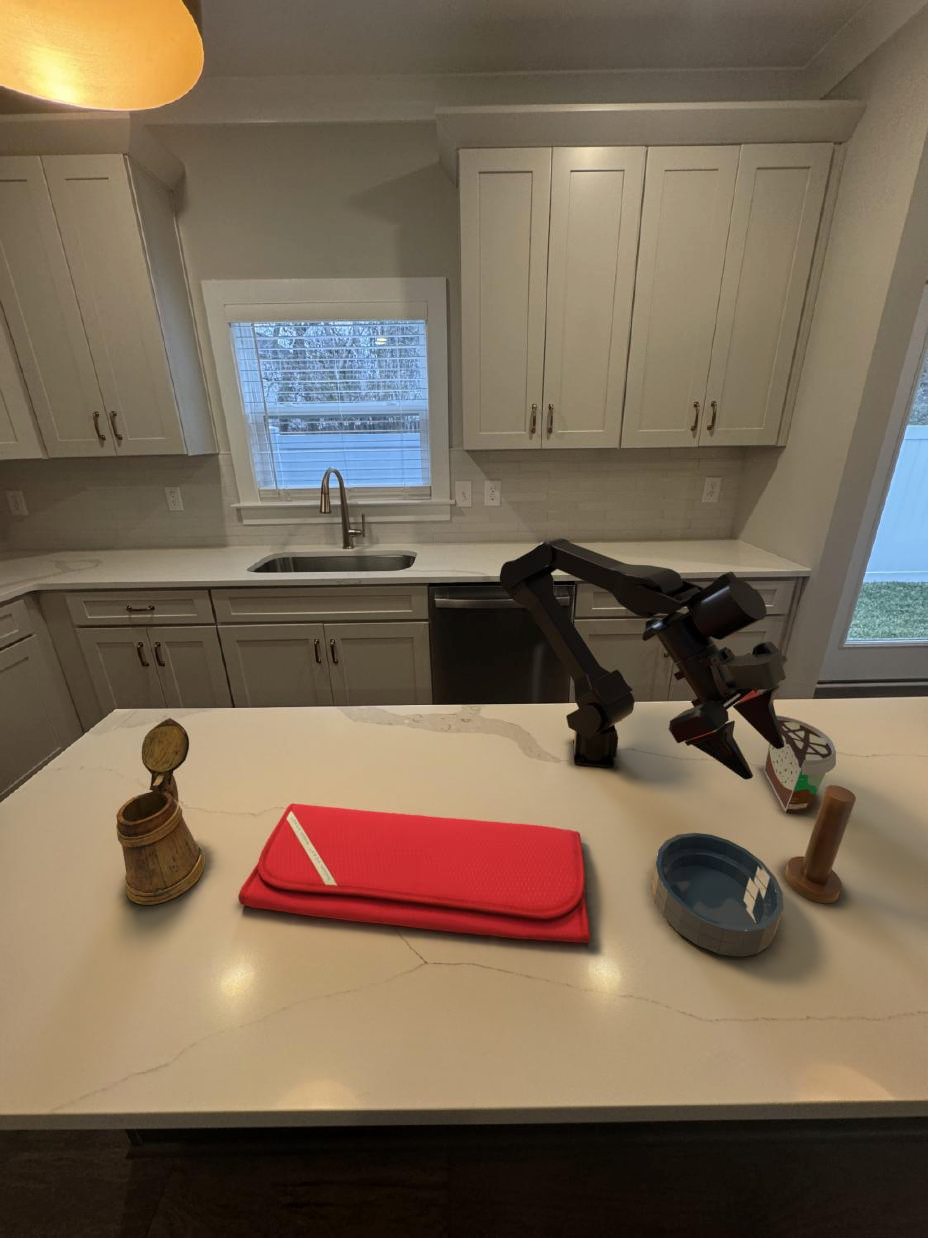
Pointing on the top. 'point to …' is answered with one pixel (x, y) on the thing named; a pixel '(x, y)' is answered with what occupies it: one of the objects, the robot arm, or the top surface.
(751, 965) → the top surface
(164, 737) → the wooden mug
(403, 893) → the red folding pouch
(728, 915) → the bowl
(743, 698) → the robot arm
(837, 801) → the stirring pestle
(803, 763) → the food container
